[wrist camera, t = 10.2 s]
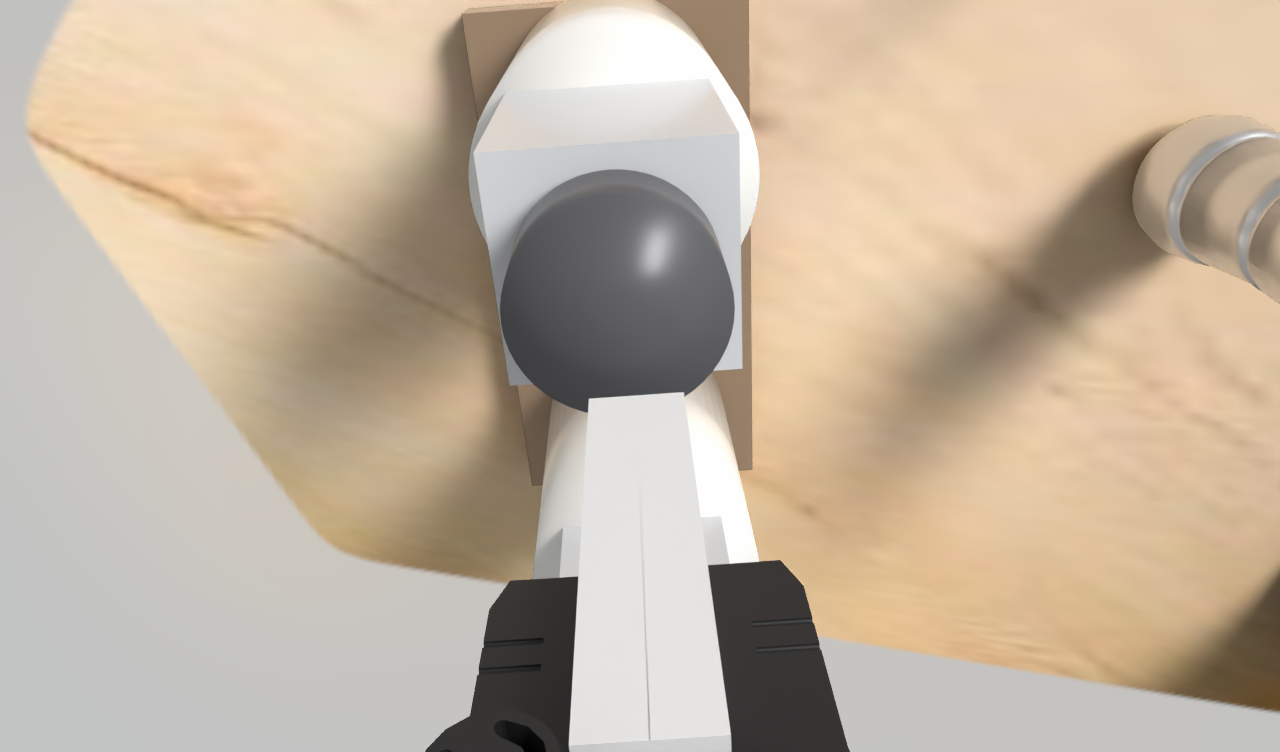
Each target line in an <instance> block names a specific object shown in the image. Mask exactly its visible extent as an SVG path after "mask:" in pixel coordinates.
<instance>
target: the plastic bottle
mask: <svg viewBox="0 0 1280 752" xmlns="http://www.w3.org/2000/svg"><path fill="white" fill-rule="evenodd" d="M1132 205H1133V209H1134V214H1135V217H1136V219H1137V221H1138V223H1139V225H1140V227H1141V228H1142V229H1143V230H1144V231H1145V232H1146V234H1147V235H1148V236H1149V237H1150V238H1151V239H1152V240H1153V241H1154V243H1155V244H1156V245H1157V246H1158V247H1160V248H1161V249H1163V250H1164V251H1166V252H1167V253H1170V254H1172V255H1175V256H1178V257H1180V258H1183V259H1186V260H1189V261H1191V262H1194V263H1198V264H1202V265H1207V266H1212V267H1214V268H1216V269H1218V270H1221V271H1223V272H1225V273H1228V274H1230V275H1232V276H1235V277H1237V278H1239V279H1241V280H1244V281H1246V282H1248V283H1250V284H1252V285H1253V286H1255V287H1256V288H1257V289H1259V290H1260V291H1262V292H1263V293H1265V294H1266V295H1268V296H1269V297H1270V298H1272V299H1273V300H1275V301H1276V302H1278V303H1279V304H1280V132H1278V131H1276V130H1275V129H1273V128H1271V127H1270V126H1268V125H1266V124H1264V123H1263V122H1260V121H1258V120H1255V119H1253V118H1249V117H1243V116H1232V115H1208V116H1203V117H1199V118H1195V119H1192V120H1190V121H1188V122H1185V123H1183V124H1181V125H1179V126H1178V127H1176V128H1175V129H1173V130H1172V131H1170V132H1169V133H1167V134H1166V135H1165V136H1164V137H1163V138H1162V139H1161V140H1159V141H1158V142H1157V143H1156V144H1155V145H1154V146H1153V147H1152V149H1151V150H1150V151H1149V152H1148V154H1147V155H1146V156H1145V158H1144V160H1143V162H1142V163H1141V165H1140V167H1139V170H1138V173H1137V175H1136V178H1135V183H1134V188H1133V196H1132Z"/></svg>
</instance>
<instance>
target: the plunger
mask: <svg viewBox="0 0 1280 752" xmlns="http://www.w3.org/2000/svg"><path fill="white" fill-rule="evenodd" d="M734 313H735V303H734V293H733V288H732V284H731V280H730V277H729V273H728V270H727V267H726V264H725V261H724V258H723V255H722V252H721V249H720V245H719V242H718V239H717V237H716V234H715V232H714V229H713V227H712V225H711V224H710V222H709V220H708V218H707V216H706V215H705V214H704V212H703V211H702V210H701V208H700V207H699V206H698V205H697V204H696V203H695V202H694V201H693V200H692V199H691V198H690V197H689V196H688V195H687V194H686V193H684V192H683V191H682V190H680V189H679V188H678V187H676V186H674V185H672V184H671V183H669V182H667V181H665V180H663V179H661V178H658V177H656V176H653V175H650V174H646V173H643V172H639V171H632V170H624V169H610V170H601V171H594V172H590V173H587V174H583V175H579V176H577V177H575V178H572V179H570V180H568V181H566V182H564V183H562V184H560V185H559V186H557V187H555V188H554V189H553V190H551V191H550V192H549V193H547V194H546V195H545V196H544V197H543V198H542V199H541V200H540V201H539V202H538V203H537V204H536V205H535V206H534V207H533V208H532V210H531V211H530V212H529V214H528V215H527V216H526V218H525V220H524V221H523V223H522V225H521V227H520V229H519V231H518V234H517V237H516V239H515V242H514V246H513V249H512V253H511V257H510V260H509V264H508V268H507V271H506V275H505V279H504V283H503V287H502V292H501V300H500V318H501V326H502V331H503V335H504V339H505V341H506V344H507V347H508V349H509V352H510V353H511V355H512V357H513V359H514V361H515V363H516V364H517V365H518V367H519V368H520V370H521V371H522V372H523V374H524V375H525V376H526V377H527V378H528V379H529V380H530V381H531V382H532V383H533V384H534V385H535V386H536V387H537V388H539V389H540V390H541V391H542V392H543V393H545V394H546V395H548V396H549V397H551V398H553V399H554V400H556V401H558V402H560V403H562V404H564V405H566V406H568V407H570V408H573V409H576V410H579V411H582V412H586V413H588V404H589V399H592V398H606V397H620V396H635V395H649V394H664V393H678V392H684V397H685V396H686V395H688V394H689V393H691V392H692V391H693V390H695V389H696V388H697V387H698V386H699V385H700V384H702V383H703V382H704V381H705V380H706V378H707V377H708V376H709V375H710V374H711V373H712V372H713V370H714V369H715V367H716V366H717V364H718V363H719V362H720V360H721V358H722V356H723V354H724V352H725V350H726V348H727V346H728V343H729V340H730V337H731V334H732V329H733V324H734Z"/></svg>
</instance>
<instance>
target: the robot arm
mask: <svg viewBox="0 0 1280 752" xmlns="http://www.w3.org/2000/svg"><path fill="white" fill-rule="evenodd" d="M425 752H850V751H849V749H848V746H847V742H846V739H845V735H844V731H843V728H842V725H841V721H840V717H839V713H838V710H837V706H836V702H835V699H834V695H833V691H832V688H831V684H830V681H829V677H828V673H827V670H826V666H825V662H824V659H823V655H822V651H821V650H820V647H819V640H818V637H817V633H816V630H815V626H814V623H813V622H812V615H811V611H810V608H809V604H808V600H807V597H806V593H805V590H804V586H803V585H802V584H801V583H800V582H799V580H798V579H797V578H796V577H795V576H794V575H793V574H792V573H791V572H790V571H789V569H788V568H787V567H786V566H785V565H784V564H783V563H782V562H781V561H780V560H777V561H762V562H747V563H732V564H717V565H708V564H707V557H706V549H705V542H704V535H703V527H702V520H701V513H700V506H699V498H698V491H697V484H696V477H695V469H694V462H693V455H692V447H691V440H690V433H689V426H688V418H687V411H686V404H685V397H684V392H678V393H664V394H649V395H635V396H620V397H606V398H592V399H589V404H588V421H587V438H586V456H585V473H584V490H583V507H582V524H581V542H580V559H579V576H576V577H561V578H546V579H531V580H516V581H510V582H509V583H508V585H507V586H506V588H505V589H504V590H503V592H502V593H501V594H500V596H499V598H498V599H497V600H496V601H495V603H494V604H493V605H492V607H491V608H490V610H489V615H488V620H487V626H486V631H485V637H484V648H482V653H481V659H480V664H479V675H477V681H476V686H475V692H474V697H473V703H472V709H471V714H470V716H469V717H467V718H466V719H464V720H462V721H460V722H458V723H457V724H455V725H453V726H451V727H449V728H448V729H446V730H445V731H444V732H443V733H442V734H441V735H440V736H439V737H438V738H437V739H436V740H435V741H434V742H433V743H432V744H431V745H430V746H429V747H428V748H427V749H426V751H425Z"/></svg>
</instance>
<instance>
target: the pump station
mask: <svg viewBox="0 0 1280 752" xmlns="http://www.w3.org/2000/svg"><path fill="white" fill-rule="evenodd" d="M462 20H463V26H464V33H465V40H466V46H467V53H468V60H469V66H470V73H471V80H472V86H473V93H474V100H475V106H476V113H477V120H478V124H477V127H476V130H475V133H474V136H473V139H472V145H471V151H470V156H469V173H468V180H469V190H470V198H471V203H472V207H473V211H474V215H475V218H476V221H477V223H478V226H479V229H480V231H481V233H482V235H483V237H484V239H485V241H486V243H487V245H488V251H489V257H490V264H491V270H492V277H493V283H494V289H495V296H496V302H497V309H498V315H499V322H500V328H501V335H502V341H503V348H504V354H505V360H506V367H507V373H508V380H509V386H514V385H517V386H518V393H519V400H520V406H521V413H522V420H523V426H524V433H525V440H526V446H527V453H528V460H529V466H530V473H531V480H532V486H537V485H543V487H542V496H541V505H540V514H539V523H538V532H537V541H536V550H535V559H534V569H533V579H546V578H561V577H576V576H579V559H580V542H581V524H582V507H583V490H584V473H585V456H586V438H587V421H588V413H586V412H582V411H579V410H576V409H573V408H570V407H568V406H566V405H564V404H562V403H560V402H558V401H556V400H554V399H553V398H551V397H549V396H548V395H546V394H545V393H543V392H542V391H541V390H540V389H539V388H537V387H536V386H535V385H534V384H533V383H532V382H531V381H530V380H529V379H528V378H527V377H526V376H525V375H524V374H523V372H522V371H521V370H520V368H519V367H518V365H517V364H516V363H515V361H514V359H513V357H512V355H511V353H510V352H509V349H508V347H507V344H506V341H505V339H504V335H503V331H502V326H501V318H500V300H501V292H502V287H503V283H504V279H505V275H506V271H507V268H508V264H509V260H510V257H511V253H512V249H513V246H514V242H515V239H516V237H517V234H518V231H519V229H520V227H521V225H522V223H523V221H524V220H525V218H526V216H527V215H528V214H529V212H530V211H531V210H532V208H533V207H534V206H535V205H536V204H537V203H538V202H539V201H540V200H541V199H542V198H543V197H544V196H545V195H546V194H547V193H549V192H550V191H551V190H553V189H554V188H555V187H557V186H559V185H560V184H562V183H564V182H566V181H568V180H570V179H572V178H575V177H577V176H579V175H583V174H587V173H590V172H594V171H601V170H610V169H624V170H632V171H639V172H643V173H646V174H650V175H653V176H656V177H658V178H661V179H663V180H665V181H667V182H669V183H671V184H672V185H674V186H676V187H678V188H679V189H680V190H682V191H683V192H684V193H686V194H687V195H688V196H689V197H690V198H691V199H692V200H693V201H694V202H695V203H696V204H697V205H698V206H699V207H700V208H701V210H702V211H703V212H704V214H705V215H706V216H707V218H708V220H709V222H710V224H711V225H712V227H713V229H714V232H715V234H716V237H717V239H718V242H719V245H720V249H721V252H722V255H723V258H724V261H725V264H726V267H727V270H728V273H729V277H730V280H731V284H732V288H733V293H734V303H735V313H734V324H733V329H732V334H731V337H730V340H729V343H728V346H727V348H726V350H725V352H724V354H723V356H722V358H721V360H720V362H719V363H718V364H717V366H716V367H715V369H714V370H713V372H712V373H711V374H710V375H709V376H708V377H707V378H706V380H705V381H704V382H703V383H702V384H700V385H699V386H698V387H697V388H696V389H695V390H693V391H692V392H691V393H689V394H688V395H686V396H685V404H686V411H687V418H688V426H689V433H690V440H691V447H692V455H693V462H694V469H695V477H696V484H697V491H698V498H699V506H700V513H701V520H702V527H703V535H704V542H705V549H706V557H707V564H708V565H717V564H732V563H747V562H759V557H758V553H757V549H756V544H755V540H754V535H753V531H752V527H751V522H750V518H749V514H748V509H747V505H746V500H745V496H744V492H743V487H742V483H741V479H740V474H739V471H742V470H752V362H751V237H750V225H751V222H752V219H753V216H754V213H755V208H756V203H757V198H758V193H759V177H760V172H759V158H758V152H757V147H756V142H755V137H754V134H753V132H752V129H751V126H750V112H749V0H567V1H563V2H550V3H536V4H523V5H510V6H496V7H483V8H470V9H467V10H466V11H465V12H463V13H462Z"/></svg>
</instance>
